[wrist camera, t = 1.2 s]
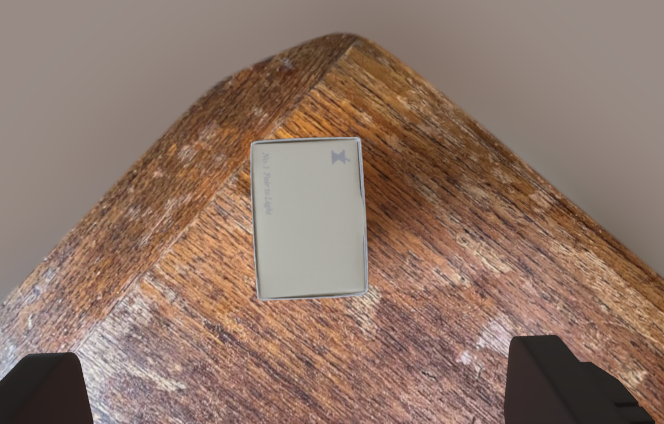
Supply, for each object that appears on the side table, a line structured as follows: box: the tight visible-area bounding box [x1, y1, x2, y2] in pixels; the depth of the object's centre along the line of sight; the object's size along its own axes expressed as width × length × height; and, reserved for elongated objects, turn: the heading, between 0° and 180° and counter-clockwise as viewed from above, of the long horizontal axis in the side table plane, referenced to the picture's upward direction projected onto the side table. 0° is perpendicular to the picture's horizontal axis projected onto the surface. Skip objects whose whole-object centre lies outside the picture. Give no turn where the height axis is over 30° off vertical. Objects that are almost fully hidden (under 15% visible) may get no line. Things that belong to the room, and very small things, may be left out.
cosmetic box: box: [251, 137, 368, 300], centre depth 25 cm, size 6×4×12 cm
